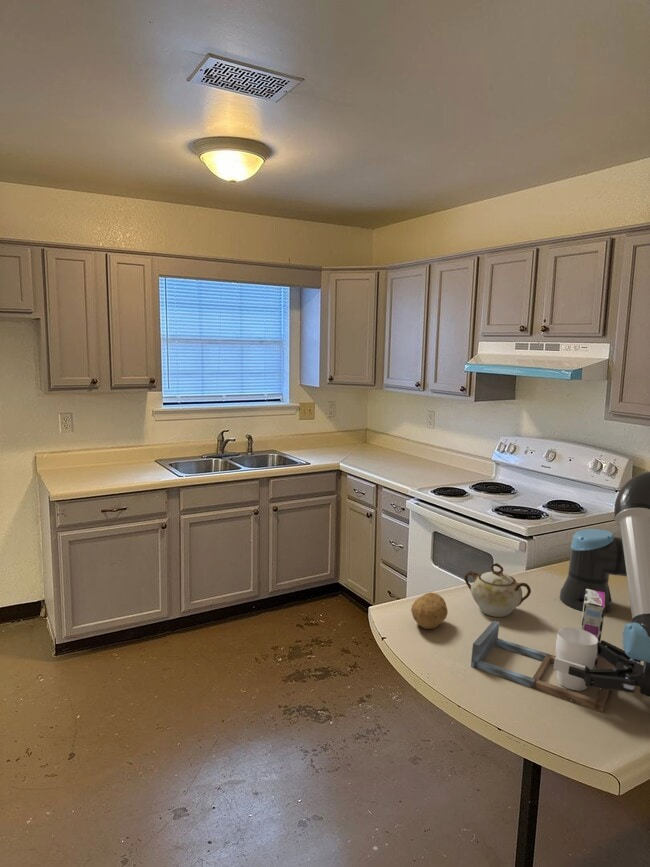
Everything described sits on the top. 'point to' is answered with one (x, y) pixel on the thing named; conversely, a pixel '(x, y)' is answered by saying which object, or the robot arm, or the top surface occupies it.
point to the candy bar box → (593, 614)
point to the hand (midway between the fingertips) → (560, 651)
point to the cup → (575, 654)
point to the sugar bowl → (496, 592)
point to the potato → (429, 610)
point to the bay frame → (491, 640)
